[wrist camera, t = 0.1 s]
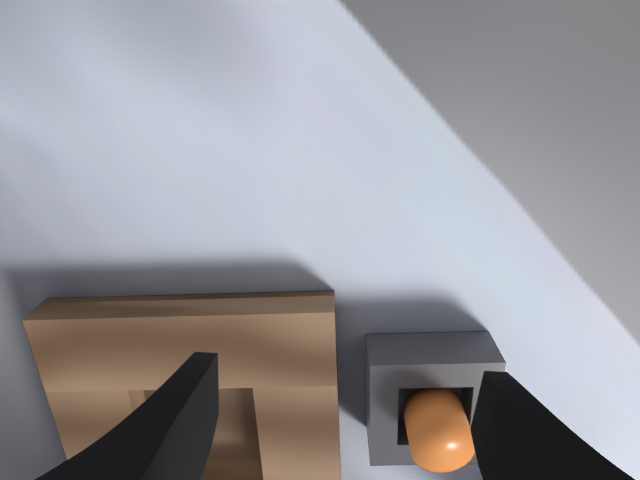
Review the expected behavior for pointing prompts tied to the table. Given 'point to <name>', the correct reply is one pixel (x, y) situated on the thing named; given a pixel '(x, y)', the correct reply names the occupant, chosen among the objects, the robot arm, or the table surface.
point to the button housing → (420, 381)
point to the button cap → (437, 430)
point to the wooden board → (233, 373)
